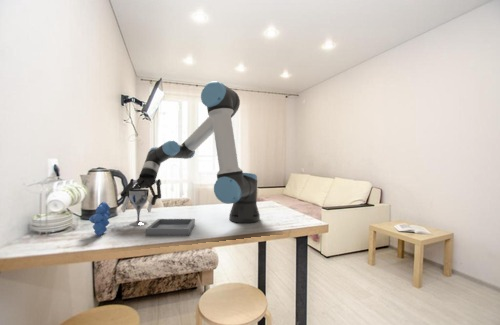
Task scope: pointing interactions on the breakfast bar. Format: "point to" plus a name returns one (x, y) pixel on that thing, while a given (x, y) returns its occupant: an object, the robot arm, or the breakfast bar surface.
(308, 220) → the breakfast bar surface
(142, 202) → the wine glass
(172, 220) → the tray
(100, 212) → the grapes
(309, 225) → the breakfast bar surface
